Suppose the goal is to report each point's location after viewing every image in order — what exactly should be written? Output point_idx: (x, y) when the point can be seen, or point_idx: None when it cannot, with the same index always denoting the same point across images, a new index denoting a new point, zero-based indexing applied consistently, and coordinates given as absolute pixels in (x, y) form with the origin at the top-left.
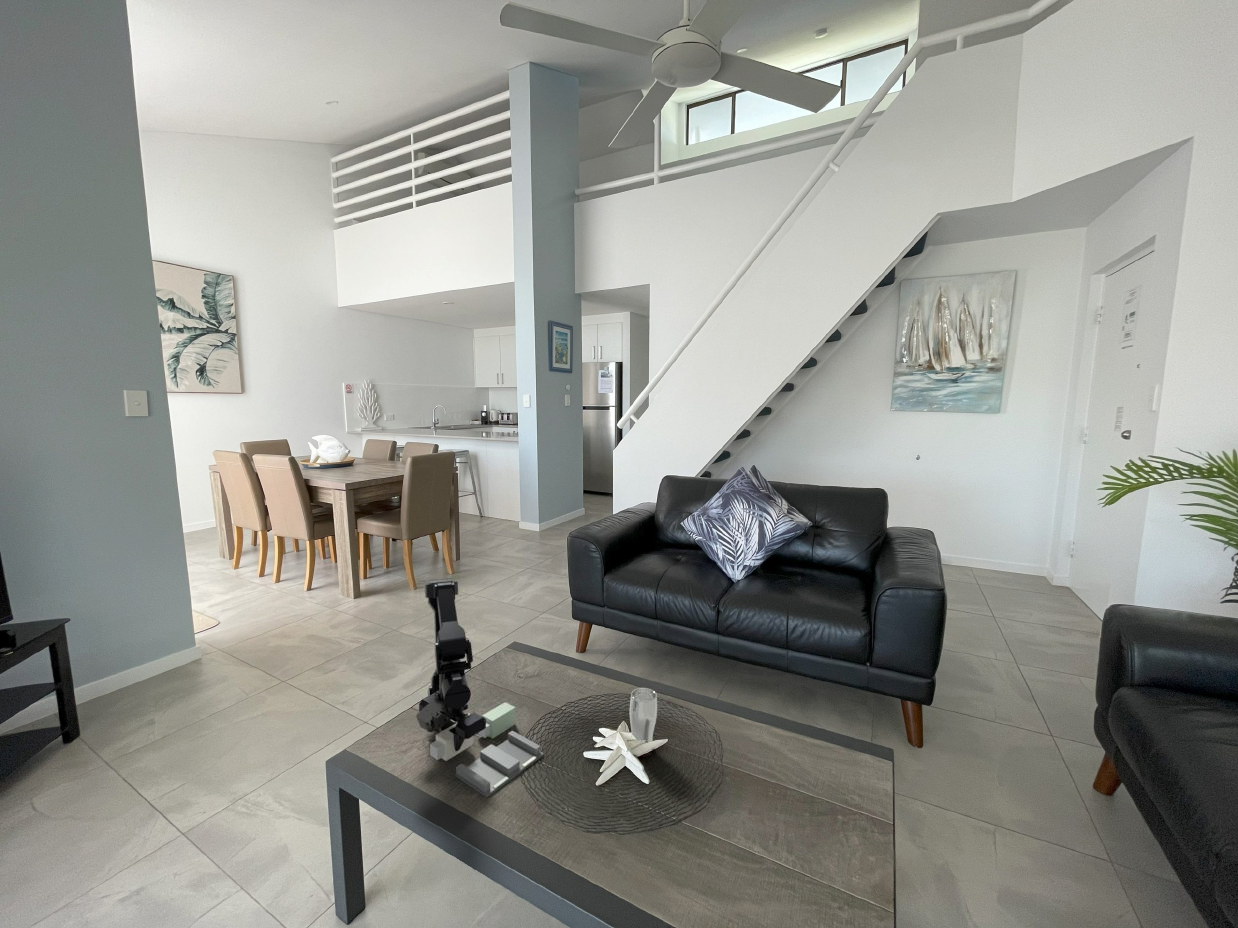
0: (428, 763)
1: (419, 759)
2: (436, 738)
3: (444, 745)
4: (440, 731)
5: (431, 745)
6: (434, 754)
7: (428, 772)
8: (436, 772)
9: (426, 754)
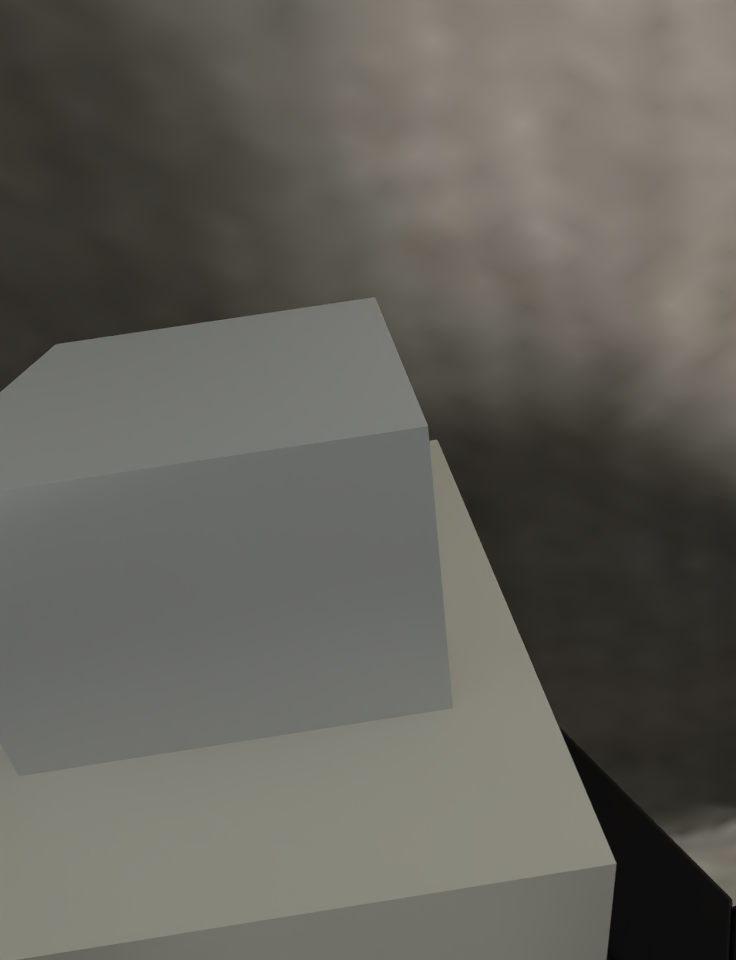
0: (453, 262)
1: (676, 191)
2: (510, 726)
3: (38, 740)
4: (685, 925)
5: (328, 431)
6: (165, 356)
7: (217, 132)
8: (123, 252)
9: (679, 348)
